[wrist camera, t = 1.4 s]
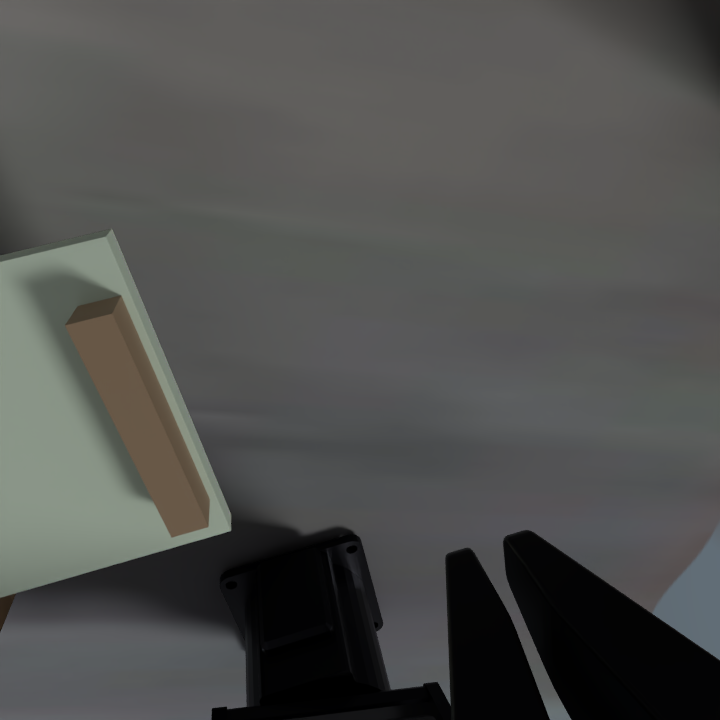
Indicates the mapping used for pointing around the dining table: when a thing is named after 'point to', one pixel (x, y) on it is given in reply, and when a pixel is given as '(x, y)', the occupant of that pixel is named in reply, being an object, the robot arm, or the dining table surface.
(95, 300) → the lid
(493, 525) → the dining table surface
